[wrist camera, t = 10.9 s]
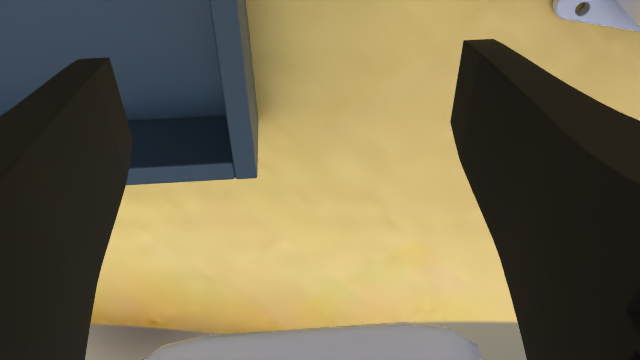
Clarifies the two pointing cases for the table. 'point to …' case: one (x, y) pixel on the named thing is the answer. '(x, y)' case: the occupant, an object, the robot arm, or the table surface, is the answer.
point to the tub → (149, 76)
